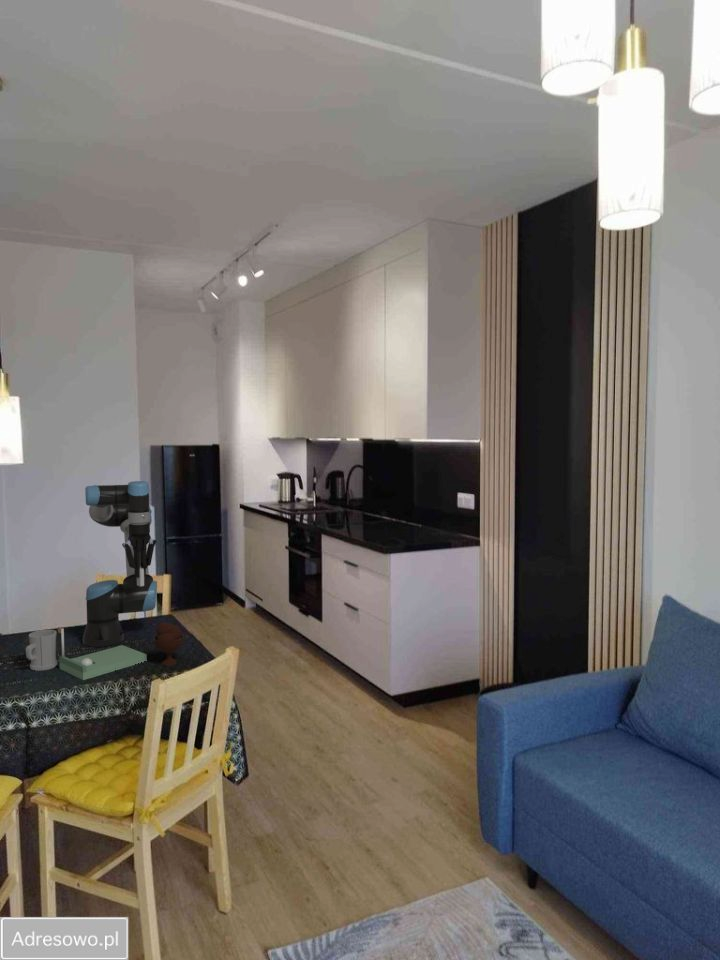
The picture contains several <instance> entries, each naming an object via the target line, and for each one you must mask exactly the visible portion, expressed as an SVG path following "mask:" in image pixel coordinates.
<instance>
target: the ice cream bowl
mask: <svg viewBox="0 0 720 960" xmlns="http://www.w3.org/2000/svg"><path fill="white" fill-rule="evenodd" d="M155 631H156V634H157V635H155V636H154V637H152V640H153V644H154V646H155V647H156V649H157V650H159V651H160V652H163V653H165V654H166V659H164V660H163V661H162V662H161V663H162V664H161V666H164V665H165V667H171V666H175V665H176V664H178V662H177V659H174V658H173V657H172V656H173V653H174V652H175V651H177V650H179V649H180V648H181V647H182V646H183V645H184V643H185V639H186V638H185V635H184V634H183V632H182V630H181V629H180V627H179V626H178V625H174V624H172V623H170V622H169V621H168V622H167V621H164V622H161V623H159V624H158V626H157V627H156V630H155Z"/></svg>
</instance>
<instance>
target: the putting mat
mask: <svg viewBox="0 0 720 960" xmlns="http://www.w3.org/2000/svg"><path fill="white" fill-rule="evenodd" d="M64 631H65V630H64V628H63V627H61V626H60V627H57V633H58V634H61V635H60V637H61V640H60V641H61V655H60V656H59V670H61V671H63V672H65V673H67V674H69V675H71V676H73V677H75V678H77V679H79V680H82V681H86V680H89V679H92V678H95V677H98V676H103V675H104V674H105V675H106V674H109V673H112V672H115V670H116V671H118V670H122V669H124V668H128V667H133V666H135V664H136V665H138V663H139V664H141V662H142V663H145V662H144V661H146V662H148V661H147V660H148V659H147V655H148V654H147V653H145V652H142V651H138V650H136V649H133V648H131V647H128V646H126V645H123V644H121V645H118V646H114V647H111V648H106V649H102V650H99V651H96V652H92V653H89V654H83V655H81V656H77V657H73V658H69V657H66V656H65V632H64ZM85 658H89V659H91V660H92V662H93V664H92V665H88V666H85V665H83V664H81V661H82V660H83V659H85Z"/></svg>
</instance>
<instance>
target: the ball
mask: <svg viewBox="0 0 720 960" xmlns="http://www.w3.org/2000/svg"><path fill="white" fill-rule="evenodd" d="M81 664H83V665H85V666H88V665H92V664H93V662H92V660H91V659H89V658H85V659H83V660H82V661H81Z"/></svg>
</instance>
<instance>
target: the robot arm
mask: <svg viewBox="0 0 720 960" xmlns="http://www.w3.org/2000/svg"><path fill="white" fill-rule="evenodd" d="M84 491H85V505H86V506H89V507H88V514H89V517H90V518H91V519H92V521H93V522H95V523H96V524H99V525H101V526H105V527H110V528H111V527H112V528H113V527H115V528H117V527H119V529H120V530H121V532H122V533H124V534H123V535H124V542H123V543H122V544H121V545H122V548H124V553H125V568H126V570H125V571H126V577H124V578H123V580H122V583H119V582H118V580H117V579H108V580H102V581H97V582H95V583H92V584H90V585H88V587H87V588H86V591H85V594H86V595H85V596H86V597H85V600H86V625H85V629H84V632H83V636H82V645H84V646H86V647H91V648H100V647H102V648H103V647H109V646H110V647H111V646H113V645H117V644H120V643H122V642H123V641H124V637H125V633H124V630H123V628H122V626H121V623H120V621H119V619H120V618H119V614H129V613H131V614H132V613H139V612H140V613H141V612H142V613H145V612H148V611H149V612H150V611H154V610H155V608H156V603H157V594H158V593H157V592H158V581H157V580H154V578H153V576H152V575H151V574H150V573H149V567H150V566H151V564H152V560H153V555H154V550H155V549H154V548H155V545H156V544H157V542H158V541H157V540H156V539H153V538H151V534H150V532H151V525H152V519H153V518H152V511H151V506H150V492H151V491H150V484H149V482H148V481H144V480H135V481H129V482H128V483H127V484H113V485H112V484H111V485H110V484H108V485H107V484H106V485H104V484H103V485H102V484H101V485H96V484H94V485H87V486H86V487H85V489H84Z"/></svg>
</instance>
